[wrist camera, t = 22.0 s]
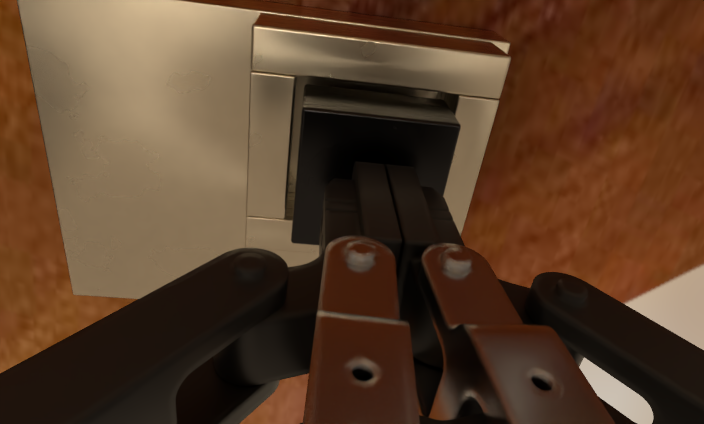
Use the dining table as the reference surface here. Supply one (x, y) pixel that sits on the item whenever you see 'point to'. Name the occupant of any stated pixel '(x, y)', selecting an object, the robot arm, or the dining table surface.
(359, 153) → the key
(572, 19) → the dining table surface
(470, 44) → the keypad
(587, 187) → the dining table surface
